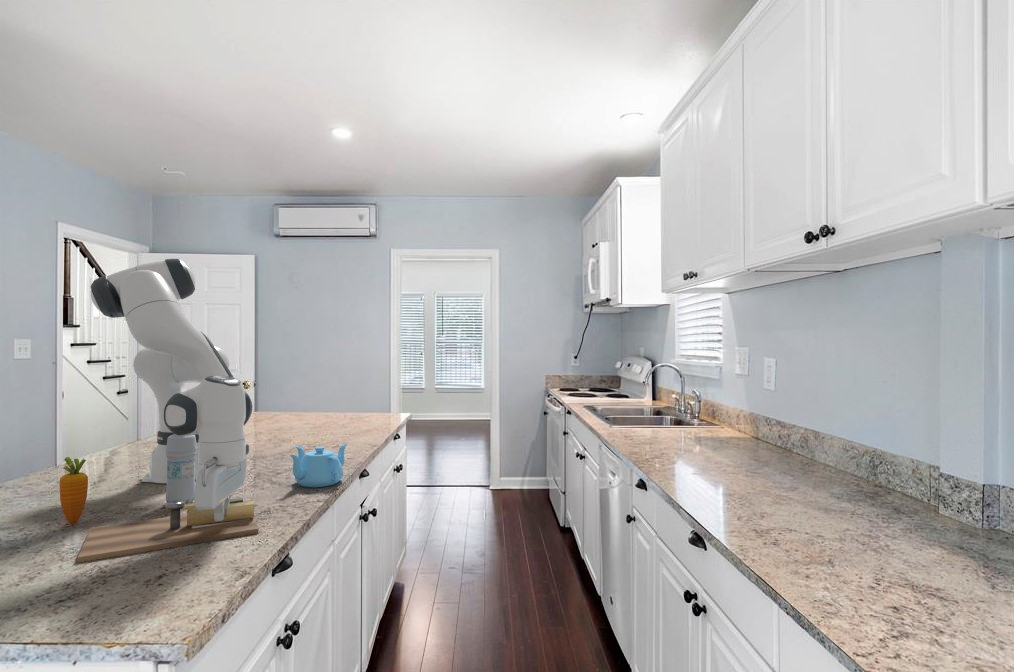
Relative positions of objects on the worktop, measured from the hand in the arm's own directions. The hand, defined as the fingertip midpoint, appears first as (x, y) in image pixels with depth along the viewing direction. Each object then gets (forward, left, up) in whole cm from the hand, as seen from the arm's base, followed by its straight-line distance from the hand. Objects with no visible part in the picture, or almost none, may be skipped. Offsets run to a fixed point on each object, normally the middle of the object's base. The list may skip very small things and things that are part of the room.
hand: (221, 518), depth 113 cm
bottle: (-28, -7, -3) cm, 29 cm away
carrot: (-21, -27, -3) cm, 34 cm away
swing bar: (-4, -2, -1) cm, 4 cm away
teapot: (-32, +26, -3) cm, 41 cm away
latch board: (-5, -8, -3) cm, 10 cm away
